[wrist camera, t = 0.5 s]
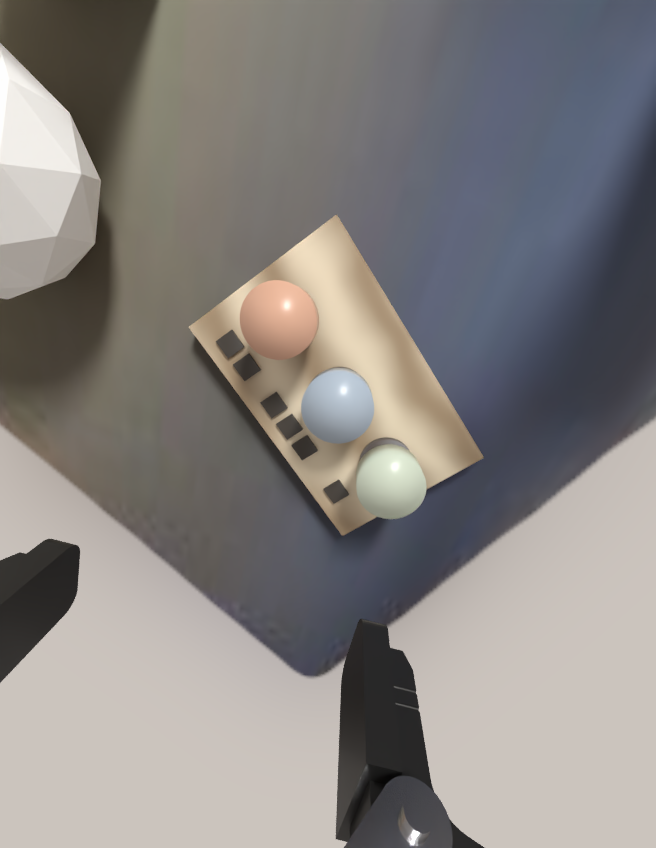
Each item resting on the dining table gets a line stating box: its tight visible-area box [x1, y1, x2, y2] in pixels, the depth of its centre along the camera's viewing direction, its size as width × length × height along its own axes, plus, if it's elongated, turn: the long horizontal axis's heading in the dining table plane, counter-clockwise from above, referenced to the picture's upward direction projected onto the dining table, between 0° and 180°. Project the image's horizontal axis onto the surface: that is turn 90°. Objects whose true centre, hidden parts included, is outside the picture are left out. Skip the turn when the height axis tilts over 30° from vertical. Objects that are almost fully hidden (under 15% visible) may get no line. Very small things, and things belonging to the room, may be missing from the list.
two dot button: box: [240, 280, 319, 360], centre depth 26 cm, size 5×5×2 cm
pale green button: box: [356, 444, 427, 519], centre depth 29 cm, size 5×5×2 cm
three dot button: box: [301, 368, 374, 444], centre depth 28 cm, size 5×5×2 cm
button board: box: [189, 215, 484, 536], centre depth 32 cm, size 14×22×3 cm, turn 34°
